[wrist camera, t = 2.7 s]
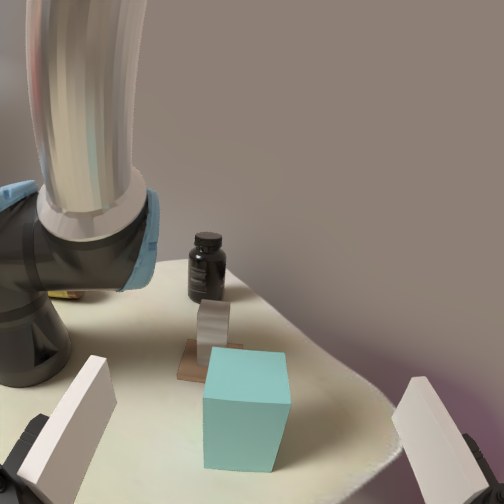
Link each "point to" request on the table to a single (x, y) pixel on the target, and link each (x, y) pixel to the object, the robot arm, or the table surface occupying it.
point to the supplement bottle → (206, 268)
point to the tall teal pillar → (244, 409)
